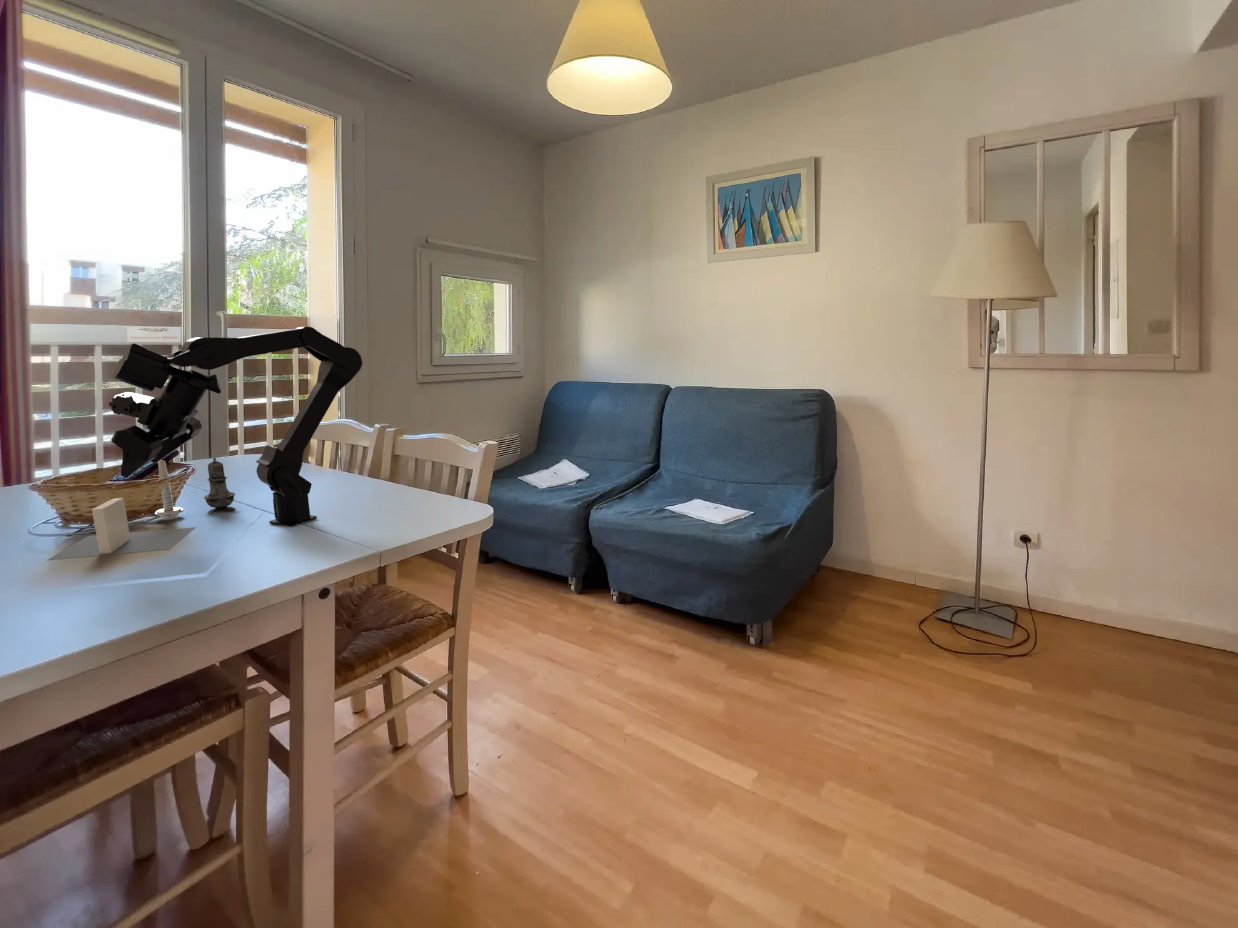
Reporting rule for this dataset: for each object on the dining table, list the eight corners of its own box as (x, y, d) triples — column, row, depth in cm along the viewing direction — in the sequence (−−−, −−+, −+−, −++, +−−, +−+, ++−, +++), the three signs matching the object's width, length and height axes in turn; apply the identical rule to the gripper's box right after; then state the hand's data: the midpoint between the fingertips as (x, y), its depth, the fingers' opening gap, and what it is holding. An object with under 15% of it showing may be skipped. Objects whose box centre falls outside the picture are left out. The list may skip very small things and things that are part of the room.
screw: (153, 525, 130) (159, 519, 135) (182, 522, 132) (186, 516, 137) (143, 462, 128) (150, 458, 132) (172, 460, 130) (177, 456, 134)
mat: (196, 529, 127) (195, 527, 127) (169, 551, 114) (169, 549, 114) (88, 538, 122) (87, 535, 122) (47, 562, 109) (46, 560, 109)
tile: (130, 539, 120) (123, 497, 118) (110, 552, 112) (102, 508, 110) (120, 540, 119) (113, 498, 118) (99, 553, 112) (91, 509, 110)
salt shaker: (226, 514, 137) (219, 460, 135) (199, 515, 138) (191, 460, 135) (242, 507, 143) (236, 454, 141) (217, 507, 143) (209, 455, 141)
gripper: (163, 367, 123) (125, 432, 125) (101, 383, 105) (58, 459, 107) (219, 400, 126) (181, 463, 128) (168, 421, 108) (125, 494, 110)
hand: (138, 468), depth 118 cm, fingers open, 9 cm apart
